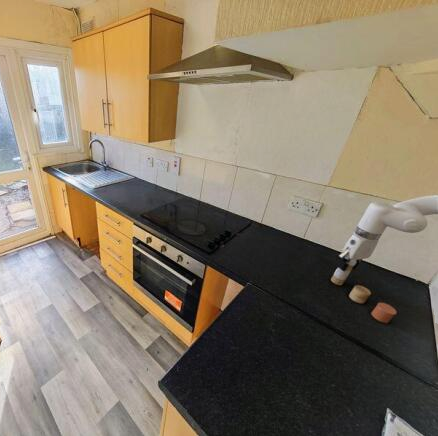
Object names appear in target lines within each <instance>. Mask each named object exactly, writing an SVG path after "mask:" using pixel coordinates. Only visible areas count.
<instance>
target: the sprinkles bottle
mask: <svg viewBox="0 0 438 436" xmlns="http://www.w3.org/2000/svg"><path fill="white" fill-rule="evenodd" d="M346 259H347V260H348V259H349V258H347V257H346ZM356 262H357V261H356V260H351V261H350V262H349V263H348V264H349V266H348V267H347V269H346V271H342V270H341V269H340V268H338V267H337V268H336V269H335V271H334V273H333V275H332V277H331V278H330V281H331V282H332V283H333V284H335V285H338V286H342V285H344V283H345V281H346V280H347V278H348V276H349V274H350V273H351V271H353V269H352V268H353V266H354V265H355V264H356Z"/></svg>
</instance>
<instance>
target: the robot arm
mask: <svg viewBox="0 0 438 436" xmlns="http://www.w3.org/2000/svg"><path fill="white" fill-rule="evenodd" d="M429 215H438V194H434V195H426V196H419V197H415V198H411V199H407V200H403V201H400V202H396V203H395V204H393V205H392V204H389V203H386V202H382V201H375V202H371V203H370V204H369V205H368V206H367V208H366V209H365V211H364V214H363V215H362V217H361V218H360V220H359V222H358V223H357V226H356V228H355V229H354V231H353V234H352V235H351V237H350V238H349V239H348V240H347V241H346V243H345V245H343V248H342V250H341V253H340V254H339V255H338V258H339V259H340V260H339V263H338V264H337V266H336V267H337V268H340V269H341V270H342V271H346V269H347V267H348V266H349V264H348V263H349V262H350V261H351V260H356V261H357V262H356V264H355V265H354V266H353V268H352V271H353V270H357V268H358V266H359V265H360V263H362V261H363V260H365V259H369V258H370V257H371V256H372V254H373V253H374V251H375V249H376V248H377V245H378V243H379V240H380V238H381V236H382V235H383V234H384V232H385V231H386V229H387V227H388V228H391V229H394V230H397V231H399V232H403V233H408V234H410V233H411V234H415V233H420V232H422V231H424V230H425V229H426V228H427V226H428V220H427V218H426V216H429ZM346 257H347V258H349V259H348V260H347V259H346Z"/></svg>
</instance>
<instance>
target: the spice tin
mask: <svg viewBox="0 0 438 436" xmlns="http://www.w3.org/2000/svg"><path fill="white" fill-rule="evenodd" d="M371 294H372V292H371V291H370V289H369V288H366V287H365V286H363V285H359V284H357V285H354V287H353V288H352V289H351V291H350V293H349V294H348V296H349V298H350V299H351V300H352V301H353V302H355V303H358V304H365V303H366V302H367V300H368V299H369V297H370V296H371Z"/></svg>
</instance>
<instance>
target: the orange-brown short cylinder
mask: <svg viewBox="0 0 438 436" xmlns="http://www.w3.org/2000/svg"><path fill="white" fill-rule="evenodd" d="M370 314H371V317H373V318H374V319H375V320H377V321H378V322H381V323H385V324H388V323H390V322H391V320H392V319H393V318H394V317H395V316H396V315H397V310H396V308H394V307H393V306H391V305H390V304H388V303H385V302H378V303H377V304H376V306H374V308H373V309H372V311H371V312H370Z"/></svg>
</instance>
